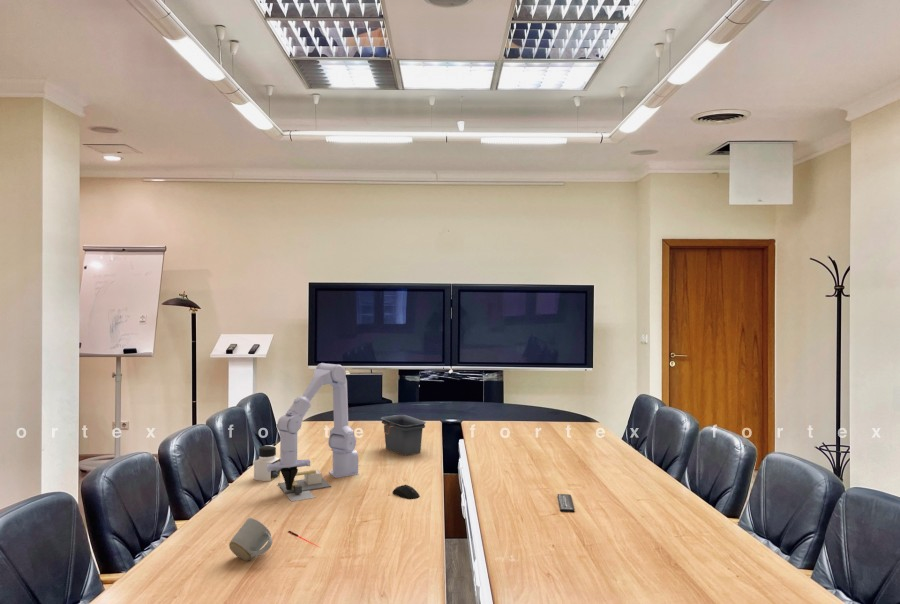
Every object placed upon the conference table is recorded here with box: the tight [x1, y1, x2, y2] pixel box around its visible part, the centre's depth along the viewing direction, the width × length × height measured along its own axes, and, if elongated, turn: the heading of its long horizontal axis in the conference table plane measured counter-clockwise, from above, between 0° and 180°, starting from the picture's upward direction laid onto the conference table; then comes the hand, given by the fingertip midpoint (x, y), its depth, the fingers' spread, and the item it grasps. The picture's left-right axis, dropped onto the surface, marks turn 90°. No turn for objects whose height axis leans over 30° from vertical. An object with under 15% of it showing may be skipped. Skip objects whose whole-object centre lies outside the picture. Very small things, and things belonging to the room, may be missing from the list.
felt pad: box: [285, 490, 316, 503], centre depth 193 cm, size 8×8×1 cm
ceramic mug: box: [228, 517, 273, 562], centre depth 146 cm, size 11×8×8 cm
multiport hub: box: [557, 493, 575, 513], centre depth 185 cm, size 4×14×2 cm, turn 173°
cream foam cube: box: [303, 469, 323, 485], centre depth 207 cm, size 5×5×4 cm
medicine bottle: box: [253, 444, 281, 482], centre depth 214 cm, size 7×7×12 cm
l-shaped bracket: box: [292, 469, 316, 494], centre depth 200 cm, size 10×11×4 cm
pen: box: [287, 530, 322, 549], centre depth 158 cm, size 1×19×1 cm, turn 47°
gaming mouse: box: [392, 484, 421, 500], centre depth 194 cm, size 6×15×4 cm, turn 41°
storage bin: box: [380, 414, 427, 457], centre depth 252 cm, size 21×16×14 cm
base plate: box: [277, 477, 332, 495], centre depth 204 cm, size 16×12×1 cm
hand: (288, 489), depth 197 cm, fingers closed
